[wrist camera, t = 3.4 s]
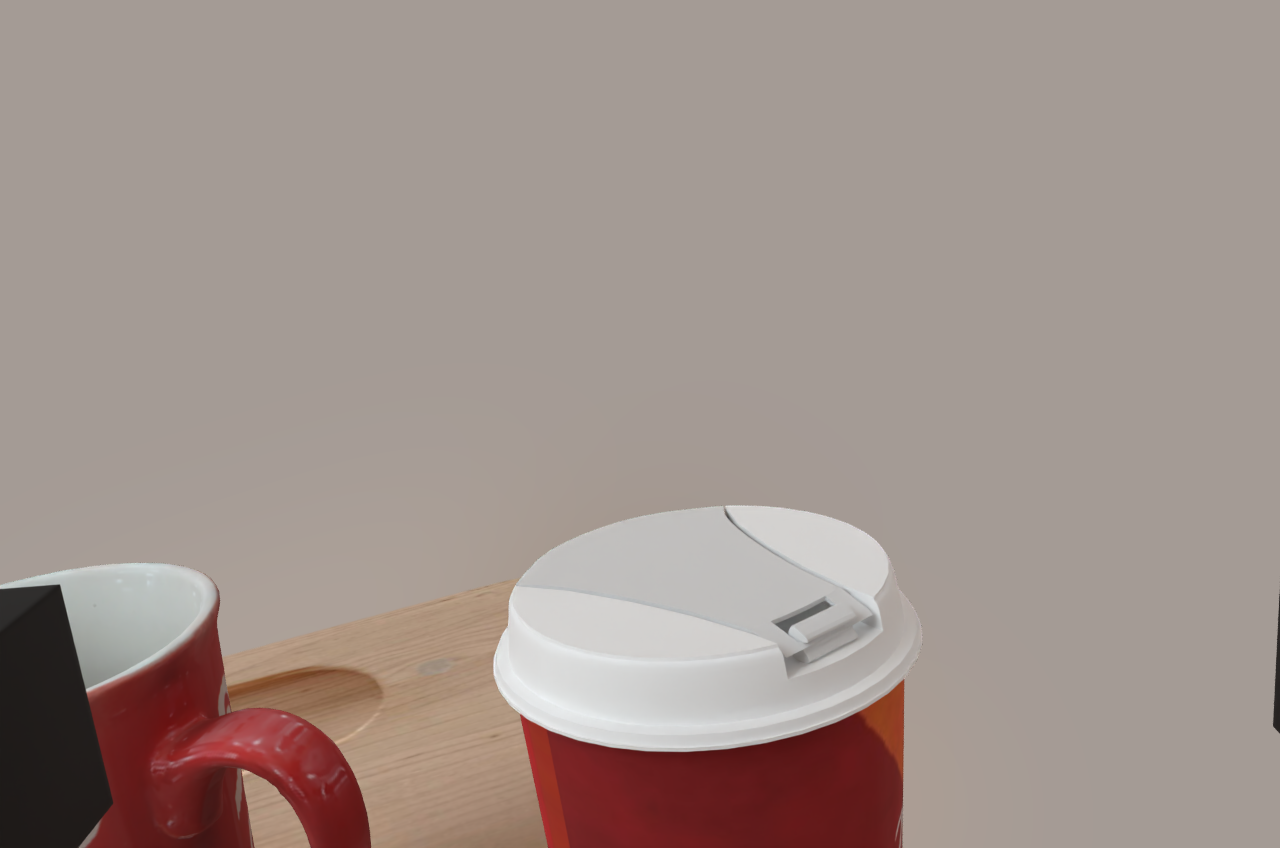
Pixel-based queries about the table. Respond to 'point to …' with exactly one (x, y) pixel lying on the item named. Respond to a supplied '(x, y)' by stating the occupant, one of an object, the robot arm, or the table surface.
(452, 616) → the table surface
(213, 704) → the mug
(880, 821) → the coffee cup
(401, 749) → the table surface
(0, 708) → the robot arm
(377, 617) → the table surface
